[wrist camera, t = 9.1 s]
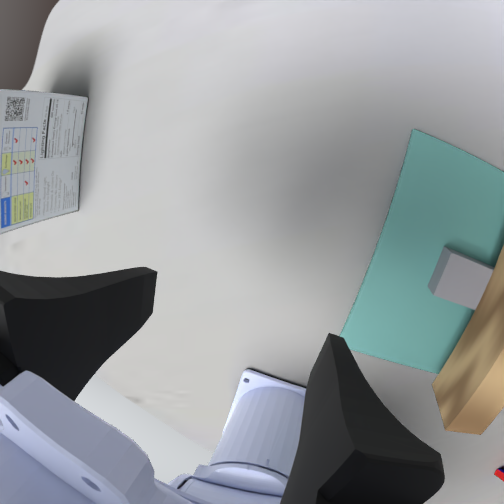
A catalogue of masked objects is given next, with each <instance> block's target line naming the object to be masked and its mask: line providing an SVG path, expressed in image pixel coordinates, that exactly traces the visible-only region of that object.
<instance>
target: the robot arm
mask: <svg viewBox="0 0 504 504" xmlns="http://www.w3.org/2000/svg"><path fill="white" fill-rule="evenodd" d="M156 279H157V271H154V270H152V269H149V268H147V267H137V268H130V269H124V270H119V271H113V272H107V273H101V274H94V275H87V276H78V277H61V278H54V277H33V276H25V275H18V274H12V273H7V272H3V271H0V504H423V503H424V502H426V501H427V500H428V499H430V498H431V497H432V496H433V495H434V494H435V493H436V492H437V491H439V489H440V488H441V487H442V485H443V483H444V479H445V475H444V469H443V464H442V458H441V454H440V453H438V452H437V451H435V450H434V449H432V448H431V447H430V446H428V445H427V444H425V443H424V442H422V441H421V440H420V439H418V438H417V437H416V436H415V435H413V434H412V433H411V432H410V431H409V430H407V429H406V428H405V427H404V426H403V425H402V424H401V423H400V422H399V421H398V420H397V419H396V418H395V417H394V416H393V415H392V414H391V413H390V412H389V410H388V409H387V408H386V407H385V406H384V405H383V403H382V402H381V401H380V399H379V398H378V397H377V395H376V394H375V393H374V391H373V390H372V388H371V387H370V385H369V384H368V382H367V381H366V379H365V377H364V376H363V374H362V372H361V370H360V369H359V367H358V365H357V363H356V361H355V359H354V357H353V355H352V353H351V351H350V349H349V347H348V345H347V343H346V341H345V339H344V338H343V337H340V336H337V335H333V334H330V333H329V334H328V336H327V338H326V341H325V343H324V345H323V347H322V349H321V352H320V354H319V356H318V358H317V360H316V362H315V364H314V366H313V369H312V371H311V373H310V377H309V381H308V385H307V389H306V388H303V387H300V386H297V385H293V384H290V383H287V382H284V381H281V380H278V379H275V378H272V377H269V376H267V375H264V374H261V373H258V372H255V371H252V370H249V369H247V370H244V372H243V374H242V377H241V380H240V383H239V386H238V389H237V392H236V395H235V398H234V401H233V404H232V407H231V410H230V413H229V416H228V419H227V421H226V424H225V427H224V430H223V435H222V437H221V439H220V441H219V443H218V445H217V447H216V449H215V451H214V453H213V456H212V458H211V460H210V462H209V464H208V466H205V465H199V466H198V467H197V469H196V471H195V473H194V475H189V474H182V475H180V476H178V477H176V478H175V479H173V480H172V481H170V482H169V483H168V484H165V483H163V482H161V481H159V480H157V479H155V478H154V469H153V467H152V465H151V462H150V460H149V458H148V455H147V454H146V453H145V452H144V451H143V450H142V449H141V448H140V447H139V446H138V445H137V444H136V442H134V440H132V439H131V438H129V437H128V436H127V435H125V434H124V433H122V432H121V431H120V430H118V429H117V428H115V427H114V426H112V425H110V424H109V423H107V422H105V421H104V420H102V419H101V418H99V417H97V416H96V415H94V414H93V413H91V412H89V411H88V410H86V409H85V408H83V407H82V406H80V405H79V404H77V403H76V402H74V401H75V399H76V398H77V396H78V394H79V393H80V392H81V391H82V389H83V388H84V387H85V385H86V384H87V383H88V381H89V380H90V379H91V377H92V376H93V375H94V374H95V373H96V371H97V370H98V369H99V368H100V367H101V365H102V364H103V363H104V362H105V361H106V360H107V359H108V358H109V357H110V356H111V355H113V354H114V353H115V352H116V351H117V350H118V349H119V348H120V347H121V346H122V345H123V344H125V343H126V342H127V341H128V340H129V339H130V338H131V337H132V336H133V335H134V334H135V333H136V332H137V331H138V330H139V329H140V328H141V327H142V326H143V325H144V323H145V322H146V321H147V320H148V318H149V317H150V316H151V314H152V313H153V305H154V296H155V287H156ZM245 378H247V379H249V380H246V379H245Z"/></svg>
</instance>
